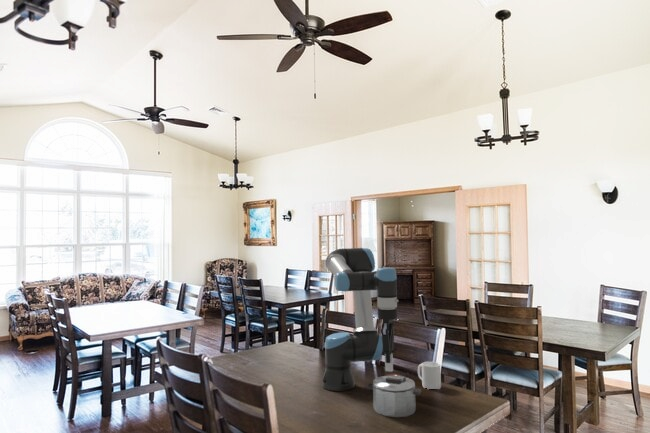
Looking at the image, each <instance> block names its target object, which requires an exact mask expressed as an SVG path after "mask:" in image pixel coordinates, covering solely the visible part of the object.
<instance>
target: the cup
mask: <svg viewBox="0 0 650 433" xmlns="http://www.w3.org/2000/svg"><path fill="white" fill-rule="evenodd" d="M417 376H418V378H419V380H421V384H422V387H423V389H425V388H427V389H426V390H429V389H438V390H440V389H441V388H442V379H441V378H442V372H441V363H439V362H436V361H424V362H421V363H420V364H419V365H418V366H417Z"/></svg>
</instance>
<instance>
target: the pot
mask: <svg viewBox="0 0 650 433" xmlns="http://www.w3.org/2000/svg"><path fill="white" fill-rule="evenodd" d="M366 390H372V408H373V410H374V411H375V413H377V414H379V415H382V416H384V417H390V418H391V417H392V418H402V417H404V418H405V417H409V416H411V415H413V414H415V412H416V410H417V408H416V407H417V406H416V396H420V395H421V393H422V389H421V388H416V386H415V387H414V388H412V389H410V390H407V391H399V392H393V391H385V390H381V389H378V388H376V387H375V386H374V385H373V383H369V384H368V385H367V386H366Z"/></svg>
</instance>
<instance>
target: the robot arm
mask: <svg viewBox="0 0 650 433" xmlns="http://www.w3.org/2000/svg"><path fill="white" fill-rule="evenodd" d="M325 266H326V269H327V270H328V272H330V273H332V274H333V276H334V287H335V290H336V291H337V292H345V293H346V292H352V294H353V307H354V318H355V319H354V320H355V329H354V330H353V332H352V334H353V335H351V334H350V333H349V332H345V331H344V332H342V331H340V332H334V333H332V334H330V335H327V336H326V337H325V341H324V342H325V345H324V349H325V352H324V353H325V354H324V355H325V370H324V373H323V377H322V381H321V384H322V385H321V386H322V388H324V389H325V390H328V391H333V392H334V391H335V392H342V391H343V392H344V391H349V390H352V389H354V388H355V386H356V383H355V382H356V381H355V377H354V375H353V371H352V369H351V367H352V366H351V363H358V362H372V361H373V362H374V361H378V360H380V359H381V357H382V355H384V369H385V370H384V371H385V372H393V371H394V358H393V357H394V356H393V355H394V354H395V350H394V349H395V343H394V342H395V325H396V324H395V323H394V320H396V319H398V318H399V317H398V315H399V314H398V308H397V307H398V303H399V299H398V298H397V297H398V291H397V287H398V286H397V278H398V275H397V270H396V268H395V267H378V268H377V269H376V270H375V268H376V261H375V257H374V254H373V251H372V250H371V249H370V248H365V247H364V248H363V247H356V248H354V247H353V248H337V249H334V250H333V251H331V252H330V253H329V254H328V255H327V257H326V259H325ZM371 291H376V293H377V294H376V297H377V299H376V300H377V302H376V303H377V318H378V320H382V323H381V329H380V332H381V334H380V333H379V332H378V329H376V327H375V323H374V314H373V305H372V304H373V302H372V292H371Z"/></svg>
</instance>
